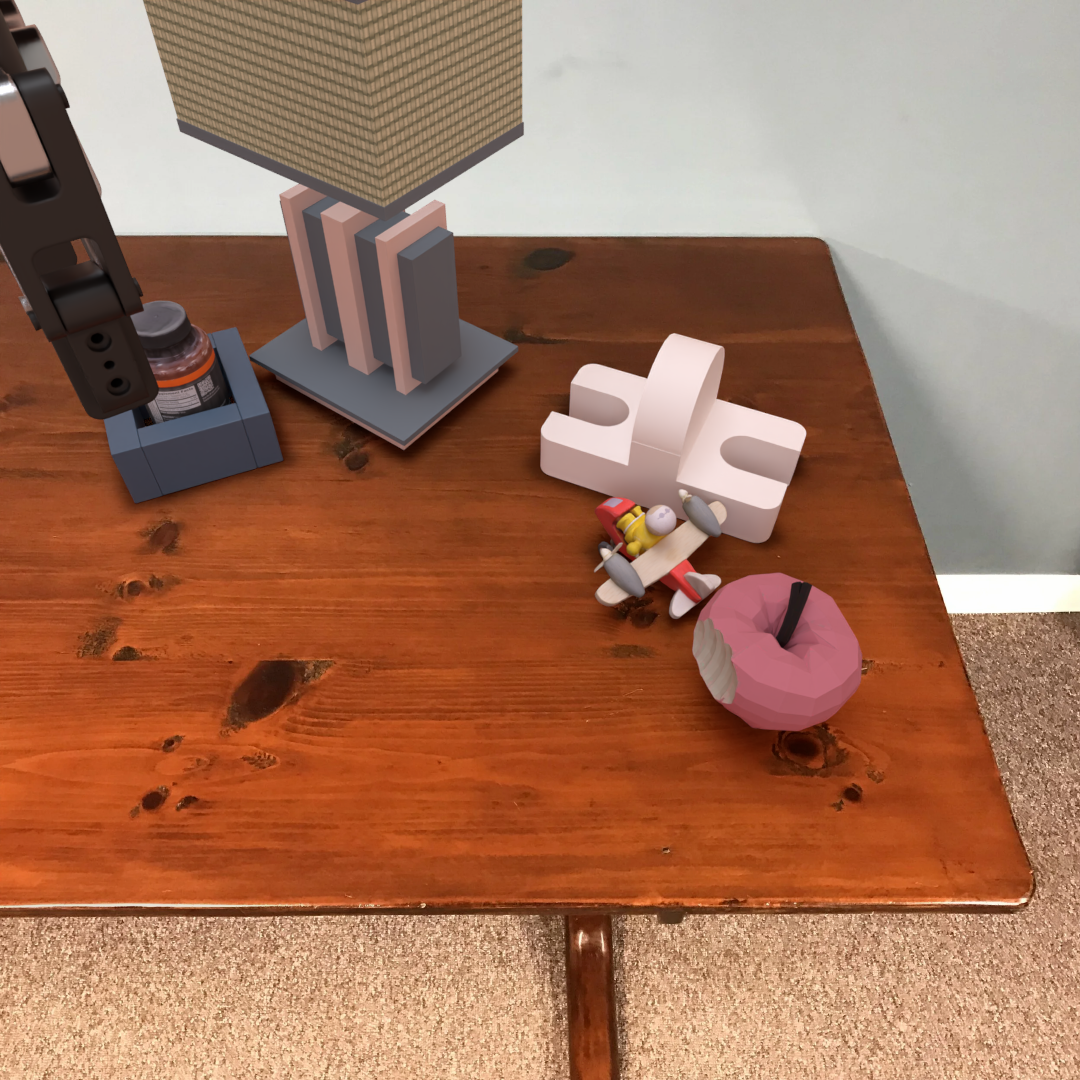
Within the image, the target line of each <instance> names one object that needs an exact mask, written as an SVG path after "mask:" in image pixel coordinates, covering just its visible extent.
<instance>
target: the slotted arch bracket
mask: <svg viewBox="0 0 1080 1080" xmlns="http://www.w3.org/2000/svg"><path fill="white" fill-rule="evenodd" d="M658 350H659V351H658V352H657V355H656V357H655V359H654V361H653V363H652V365H651V368H650V370H649V373H648V376H647V378H646V377H644V376H639V375H636V374H633V373H630V372H627V371H622V370H619V369H616V368H612V367H609V366H606V365H603V364H598V363H587V364H584V365H582V367H579V370H578V371H577V373H576V374H575V375H574V377H573V378H572V380H571V382H570V387H569V388H570V389H569V390H570V391H569V392H570V393H569V410H568V411H569V412H568V415H566V414H563V413H559V412H556V411H554V410H552V411H551V412H550V413H549V415H548V416H547V418H546V420H545V421H544V423H543V424H542V426H541V428H540V464H539V465H540V466H539V467H540V469H541V471H542V472H543V473H544V474H546V475H548V476H549V477H552V478H555V479H558V480H562V481H564V482H567V483H571V484H574V485H577V486H579V487H582V488H586V489H589V490H592V491H595V492H598V493H601V494H604V495H607V496H610V497H612V498H613V497H621V498H626V499H629V500H631V501H633V502H635V505H636V506H640V507H644V508H646V509H648V510H649V509H650V508H652V507H654V506H656V505H665V506H667V507H669V508H671V509H672V510H673V512H674V513H675V515H676V519H680V520H683V521H685V522H686V521H688V520H689V517H688V516H687V515H686V513H685V511H684V510H683V508H682V505H683V504H682V499H681V498H680V497H679V493H678V492H679V490H680V489H683V490H686V491H687V492H688V493H687V494H688V495H692V496H695V495H696V496H698V497H699V498H701V499H702V500H703V501H704V502H705V503H706V504H707V505H709V504H711V503H713V502H715V501H719V502H721V503H722V504H723V505H724V506H725V508H726V511H727V517H726V520H725V521H724V522H723V523H722V524H721V525H720V528H721V531H722V533H721V534H724V535H728V536H731V537H734V538H737V539H740V540H743V541H746V542H749V543H753V544H760V543H764V542H767V540H769V539H770V537H771V535H772V533H773V530H774V527H775V524H776V521H777V520H778V516H779V513H780V510H781V506H782V504H783V500H784V497H785V495H786V492H787V488H788V487H790V484H791V481H792V479H793V477H794V473H795V471H796V469H797V468H796V467H797V464H798V461H799V458H800V455H801V452H802V449H803V446H804V443H805V439H806V437H807V430H806V429H805V427H804V426H803V425H802V424H800V423H799V422H796V421H795V420H790V419H787V418H783V417H780V416H777V415H773V414H770V413H767V412H766V413H765V412H764V411H760V410H757V409H752V408H749V407H746V406H742V405H739V404H736V403H732V402H728V401H726V400H722V399H719V398H718V394H719V388H720V383H721V380H722V379H721V378H722V373H723V370H724V364H725V355H726V354H725V352H726V350H725V348H724V346H722V345H718V344H715V343H711V342H708V341H704V340H700V339H696V338H694V337H689V336H686V335H682V334H679V333H675V332H674V333H671V334H669V335H668V336H667V338H666V339H665V340H664V342H663V343H662V345H661V346H660V349H658Z"/></svg>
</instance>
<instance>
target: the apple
mask: <svg viewBox="0 0 1080 1080" xmlns="http://www.w3.org/2000/svg"><path fill="white" fill-rule="evenodd" d="M692 641H693V642H692V655H693V657H694V659H695V660H696V663H697V666H698V670H699V675H700V677H702V679H703V681H704V683H705V685H706V688H707V689H708V691H709V692H710V694H711V695H712V697H713V698H714V700H715V701H716V702H717V703H719V705H722V706H723V708H724V709H726V710H727V711H729V712H730V713H732V714H733V715H735V716H736V717H739V718H740V719H741V720H742V721H743V722H745V723H746V724H747V725H748V726H749V727H750V728H752V729H760V730H770V731H788V732H789V731H790V732H800V731H802V730H805V729H807V728H808V729H809V728H810V727H813V726H816V725H818V724H821V723H824V722H826V721H827V720H829V719H830V718H832V717H833V716H834V715H836V714H837V712H838V711H840V710H841V708H842V707H843V706H844V705H845V704H846V703H847V702H848V700H850V699H851V698H852V696H853V695H854V694H855V693H856V692H857V690H858V689H859V687H860V685H861V683H862V669H863V668H862V666H863V653H862V650H861V647H860V644H859V640H858V638H857V637H856V635H855V633H854V631H853V630H852V628H851V626H850V625H849V623H848V621H847V620H846V618H845V616H844V615H843V613H842V611H841V610H840V608H839V606H838V605H837V603H836V601H835V600H834V598H833V597H832V596H830V595H829V594H827V593H826V592H824V591H822V590H821V589H819V588H817V587H816V586H814V585H813V584H812V583H810V582H808V581H803V580H801V579H799V578H795V577H793V576H790V575H787V574H785V573H783V572H771V573H761V574H760V573H759V574H749V575H747V576H744V577H741V578H739V579H737V580H733V581H731V582H729V583H727V584H725V585H724V586H722V587H721V588H719V589H718V590H717V591H716V592H715V593H714V595H713V596H712V597H711V598H710V599H709V600H708V602H707V603H706V605H705V606H704V607H703V608H702V609H701V611H700V613H699V615H698V618H697V621H696V623H695V626H694V630H693V640H692Z"/></svg>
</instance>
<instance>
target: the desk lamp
mask: <svg viewBox="0 0 1080 1080" xmlns="http://www.w3.org/2000/svg"><path fill="white" fill-rule="evenodd" d="M142 2H143V6H144V9H145V12H146V15H147V19H148V23H149V25H150V29H151V32H152V36H153V40H154V42H155V46H156V49H157V53H158V56H159V60H160V63H161V67H162V70H163V73H164V77H165V80H166V83H167V88H168V91H169V93H170V97H171V100H172V103H173V108H174V110H175V115H176V117H177V118H176V122H177V126H178V130H179V132H180V133H182V134H184V135H187V136H189V137H191V138H193V139H196V140H198V141H201V142H203V143H205V144H207V145H210V146H212V147H213V148H217V149H219V150H221V151H223V152H226V153H228V154H230V155H233V156H235V157H237V158H239V159H241V160H244V161H246V162H249V163H251V164H253V165H255V166H258V167H260V168H262V169H265V170H267V171H269V172H272V173H273V174H276V175H278V176H281V177H283V178H284V179H287V180H290V181H292V182H294V183H297V184H295V185H294V186H291V187H289V188H288V189H286V190H285V191H282V192H281V193H279V195H278V197H279V205H280V209H281V214H282V219H283V223H284V227H285V232H286V236H287V241H288V245H289V249H290V254H291V258H292V263H293V267H294V271H295V277H296V281H297V286H298V290H299V294H300V299H301V304H302V308H303V313H304V317H305V318H303V319H302V320H300V321H298V322H297V323H296V324H294V325H293V326H291V327H289V328H288V329H287V330H285V331H284V332H282V333H281V334H279V335H278V336H276V337H275V338H273V339H272V340H270V341H269V342H267V343H266V344H264V345H262V346H261V347H260V348H258V349H256V350H255V351H254V352H252V353H251V354H249V355H248V358H249V360H250V362H252V363H254V364H256V365H258V366H260V367H261V368H263V369H264V370H266V371H268V372H270V373H271V374H273V375H275V378H276V380H278V381H279V382H281V383H283V384H285V385H287V386H288V387H290V388H292V389H294V390H296V391H297V392H299V393H301V394H303V395H305V396H306V397H308V398H310V399H311V400H314V401H316V402H317V403H319V404H320V405H322V406H324V407H326V408H327V409H330V410H331V411H333V412H335V413H337V414H339V415H340V416H341V417H344V418H346V419H347V420H349V421H351V422H353V423H355V424H356V425H358V426H360V427H362V428H363V429H365V430H367V431H369V432H371V433H372V434H374V435H376V436H378V437H380V438H382V439H383V440H385V441H387V442H389V443H391V444H392V445H393V446H396V447H398V448H400V449H401V450H403V451H405V450H406V449H407V448H409V446H411V445H412V444H413V443H415V442H416V441H417V440H418V439H419V438H421V436H423V435H424V434H425V433H426V432H428V430H430V429H431V428H432V427H433V426H435V425H436V424H437V423H438V422H439V421H441V420H442V419H443V418H445V416H446V415H448V414H449V413H451V411H452V410H454V409H455V408H456V407H457V406H459V405H460V404H461V403H462V402H463V401H465V400H466V399H467V398H468V397H469V396H471V394H473V393H474V392H476V390H477V389H479V388H480V387H481V386H482V385H483V384H485V383H486V382H487V381H488V380H489V379H491V378H492V377H493V376H494V375H495V374H497V373H498V372H499V368H500V367H501V366H503V365H504V364H505V363H506V362H507V361H508V360H509V359H511V358H512V357H513V356H514V355H516V354H518V352H519V346H518V345H517V344H514V343H512V342H510V341H508V340H506V339H504V338H501V337H500V336H497V335H495V334H493V333H491V332H489V331H487V330H484V329H482V328H481V327H478V326H476V325H474V324H472V323H470V322H468V321H465V320H463V319H461V318H460V313H459V299H458V298H459V297H458V284H457V283H458V282H457V270H456V269H457V268H456V267H457V266H456V253H455V237H454V232H453V231H451V230H448V223H447V212H446V211H447V210H446V209H447V208H446V203H444V202H441V201H439V200H437V199H434V200H432V201H430V202H429V203H427V204H425V205H424V206H422V207H420V208H419V209H418V210H415V211H414V212H413V213H411V214H410V213H409V212H406V210H407V209H408V208H410V207H411V206H413V205H414V204H416V203H418V202H420V201H421V200H422V199H424V198H426V197H427V196H429V195H431V194H432V193H434V192H435V191H437V190H438V189H440V188H442V187H443V186H444V185H445V186H446V184H449V182H452V181H453V180H454V179H456V178H458V177H459V176H460V175H462V174H464V173H466V172H467V171H468V170H469V171H470V169H473V168H474V167H475V166H477V165H478V164H480V163H482V162H483V161H485V160H486V159H488V158H490V157H492V155H494V154H496V153H498V152H499V151H501V150H502V149H504V148H505V147H507V146H509V145H511V144H512V143H514V142H515V141H516V140H519V139H520V138H521V137H523V136H525V122H524V121H523V0H142Z"/></svg>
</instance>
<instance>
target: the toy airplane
mask: <svg viewBox="0 0 1080 1080" xmlns="http://www.w3.org/2000/svg"><path fill="white" fill-rule="evenodd" d="M678 493H679V497H680V498H681V499H682V504H683V505H682V508H683V510H684V511H685V513H686V515H687V516H688V517H689V520H688V521H685V522H684V523H682V524H681V525H679V526H678V527H676V525H677V518H676V515H675V513H674V512H673V510H672V509H671V508H669V507H667V506H665V505H656V506H654V507H652V508H650V509H649V508H648V510H647V512H644V511H642V506H640V505H636V504H635V502H633V501H631V500H629V499H626V498H621V497H613V496H612V497H609V498H607V499H606V500H604V501H603V502H602V503H601V504H599V505H598V506H597V507H595V508H594V514H595V516H596V517H597V519H598V521H599V522H600V523H601V524H602V527H603V528H604V530H605V531H606V533H607V534H608V536H609V538H610V540H609V543H608V542H607V541H601V542H600V543H599V544H598V545H597V551H598V553H599V555H600V557H601V558H602V559H603V560H602V561H601V562H600V563H599V564H598V565H597V566H596V567H595V568H594V570H593V573H596V572H597V571H599V569H601V568H604V570H605V572H606V573H607V575H608V576H609V578H608V579H607V580H606V581H605V582H604V583H602V584H601V585H600V586H599V587H598V589H597V590H596V591H595V593H594V597H595V599H596V601H597V602H598V603H599V604H601V605H603V606H606V607H615V606H617V605H619V604H621V603H622V602H624V601H626V600H627V599H629V598H631V597H633V596H634V597H636V598H639V599H640V598H642V597H644V596H645V594H646V590H645V589H647V588H648V587H650V586H651V585H654V584H655V583H656V582H658V581H660V582H661V583H662V584H663V585H664V586H666V587H667V588H669V589H670V590H672V591H674V594H673V596H672V598H671V600H670V603H669V607H668V614H669V616H670V617H671V618H672V619H674V620H678V619H680V618H682V616H684V615H685V614H686V613H687V612H689V611H690V610H692V609H693V608H694V607H695V606H697V605H698V604H700V603H701V602H702V601H703V600H705V599H706V598H707V597H708V596H710V594H712V593H713V592H714V591H715V590H716V589H717V588H718V587H720V585H721V584H722V579H721V577H720V576H718V575H717V574H713V573H712V574H711V573H707V574H706V573H705V574H701V573H699V572H697V571H696V569H694V567H693V566H692V563H690V561H689V560H688V558H690V556H692V554H694V553H695V551H697V549H698V548H700V547H701V546H702V545H703V544H704V542H706V541H707V540H708V539H709V537H710V536H711V537H714V538H719V537H720V536H721V535H722V534H723V533H722V531H721V528H720V525H721V524H722V523H723V522H724V521H725V520H726V517H727V511H726V508H725V506H724V505H723V504H722V503H721V502H719V501H715V502H713V503H711V504H709V505H707V504H706V503H705V502H704V501H703V500H702V499H701V498H699V497H698V496H696V495H695V496H692V495H688V494H687V493H688V492H687V491H686V490H683V489H680V490H679V492H678ZM675 528H676V529H675ZM618 552H620V553H621V554H622V555H624V556H625V557H626V558H628V559H629V560H630V561H631V562H629V561H628V560H627V559H626V558H625V557H624V556H622V555H621V554H619V553H618Z"/></svg>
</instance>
